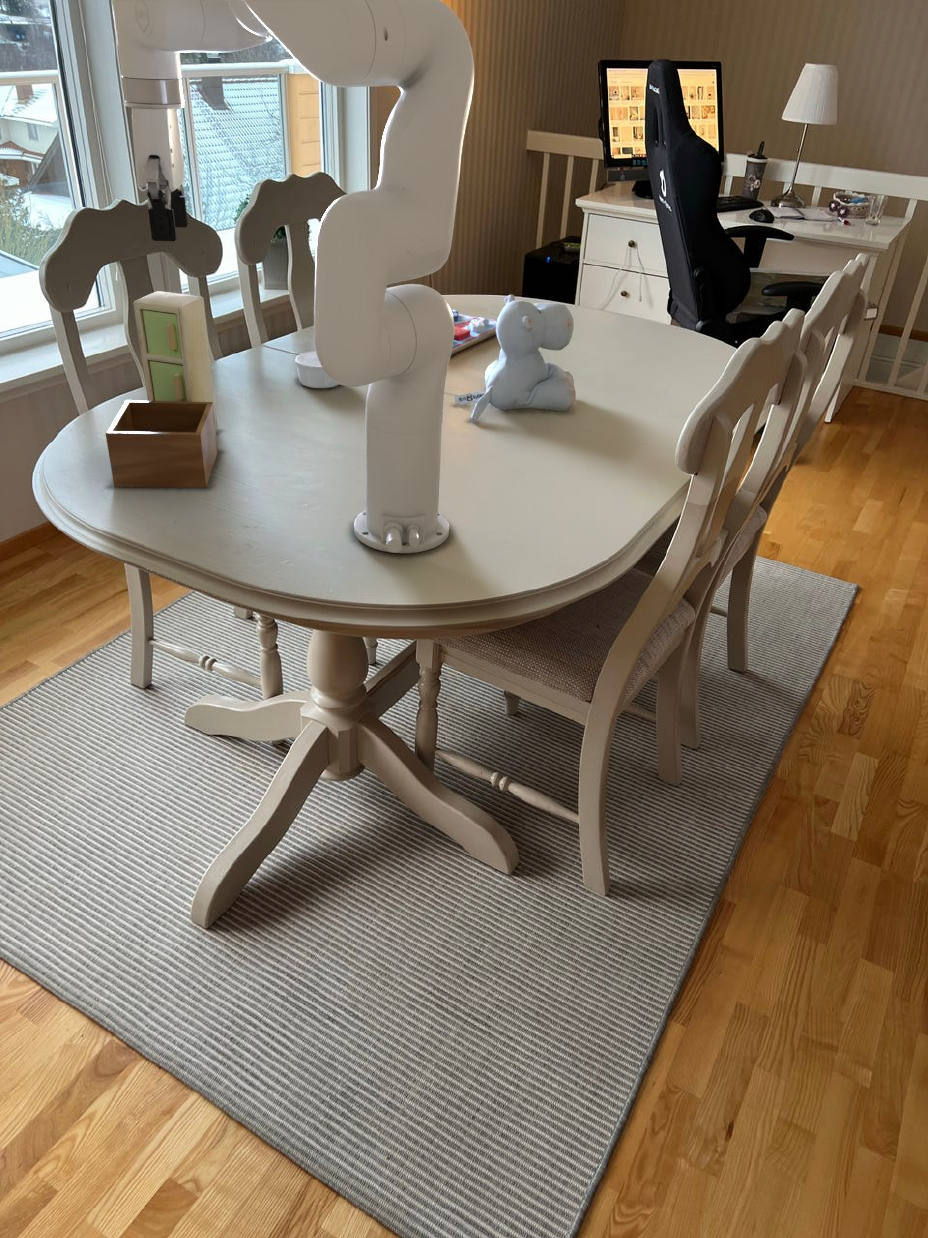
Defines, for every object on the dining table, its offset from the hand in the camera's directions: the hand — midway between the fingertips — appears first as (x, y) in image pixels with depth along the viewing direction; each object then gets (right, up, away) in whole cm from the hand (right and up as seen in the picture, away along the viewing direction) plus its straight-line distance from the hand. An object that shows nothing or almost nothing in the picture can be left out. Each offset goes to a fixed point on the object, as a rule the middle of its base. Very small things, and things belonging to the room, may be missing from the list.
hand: (170, 233), depth 131 cm
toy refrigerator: (-3, -25, +16) cm, 30 cm away
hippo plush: (+51, -16, +36) cm, 64 cm away
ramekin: (+15, -11, +40) cm, 44 cm away
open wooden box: (-2, -32, +6) cm, 33 cm away
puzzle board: (+33, +6, +67) cm, 75 cm away
